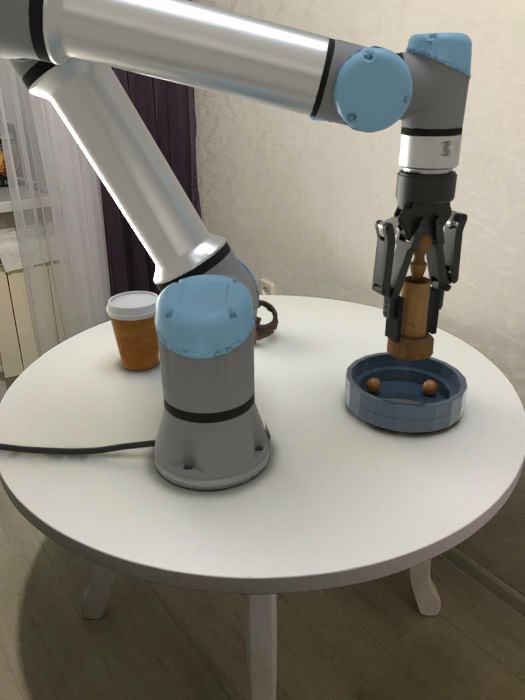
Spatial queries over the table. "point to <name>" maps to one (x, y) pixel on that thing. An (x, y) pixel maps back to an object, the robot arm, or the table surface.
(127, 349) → the disposable coffee cup
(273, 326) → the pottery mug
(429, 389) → the bead
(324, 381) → the table surface
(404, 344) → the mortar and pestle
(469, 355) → the table surface
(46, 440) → the table surface
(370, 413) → the bowl
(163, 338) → the robot arm
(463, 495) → the table surface
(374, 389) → the bead
